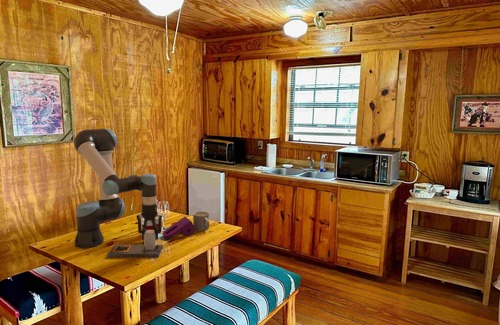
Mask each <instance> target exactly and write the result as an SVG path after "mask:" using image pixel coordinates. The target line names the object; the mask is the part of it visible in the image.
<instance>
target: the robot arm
mask: <svg viewBox="0 0 500 325" xmlns="http://www.w3.org/2000/svg"><path fill="white" fill-rule="evenodd" d="M117 144H118V138H117V135H116V133H115V132H114V131H113V130H112V129H110V128H93V129H92V128H91V129H82V130H80V131H79V132H78V133H77V134H76V135H75V137H74V140H73V145H74V146H73V147H74V149H75V151H76V152H77V154H78V155H79V156H81V157H83V158H84V160H85V161H86V162H87V163H88V165H89V166H90V167H91V168H92V171H93V172H94V173H95V174H96V175H97V176H98V184H99V185H98V186H99V192H100V196H99V197H98V200H97V201H96V200H90V201H85V202H82V203H80V204H78V205H77V206H76V210H75V215H76V217H75V218H76V228H77V229H76V230H77V231H76V235H75V239H74V247H76V248H78V247H79V248H80V249H89V248H94V247H98V246H100V245H101V246H102V244H103V243H104V242H105V240H104V235H103V233H102V230H101V223H105V222H108V221H111V220H116V219H119V218H121V217H122V216H123V214H125V209H126V207H125V202H124V200H123V199H122V198H120V195H119V194H123V193H128V192H133V191H140V192H141V213H140V214H139V213H138V214H136V216H135V217H136V220H137V234H141V240H142V241H143V245H144V246H145V230H146V226H147V221H152V224H153V228H154V232H155V233H154V246H156V245H157V241H158V240H159V234H161V233H162V229H163V228H162V223H163V222H162V219H163V214H160V213H158V208H157V207H158V206H157V205H158V204H157V203H158V202H157V201H158V200H157V198H158V197H157V183H158V182H157V176H156V175H155V174H154V173H143V174H141V175H136V174H130V175H128V176H127V177H120V178H119V176H118V174H116V173H115V171H114V164H113V156H112V154H113V153H114V151H115V148H116V147H117V146H118V145H117ZM142 218H143V219H144V220H143V221H144V225H142V224H141V222H142ZM155 218H156V219H159V220H158V229H157V225H156V221H155ZM156 240H157V241H156Z"/></svg>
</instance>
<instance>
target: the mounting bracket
mask: <svg viewBox="0 0 500 325" xmlns="http://www.w3.org/2000/svg"><path fill="white" fill-rule="evenodd" d="M180 233H182V235H184V236H185V237H189V236H190V237H191V236H193V235H194V233H195V227H194V225H193V220H191V219H189V218H188V217H186V216H184V217H181V218H180V219H178V220H177V221H176V222H175V223H173V224H172V225H170V226H168V228H166V229H165V230H163V232H162V237H163V238H164V239H165V238H166V239H165V240H168V239H169V240H170V239H172V238H174V237H175V236H176V235H178V234H180Z"/></svg>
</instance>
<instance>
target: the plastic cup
mask: <svg viewBox="0 0 500 325" xmlns="http://www.w3.org/2000/svg"><path fill="white" fill-rule="evenodd" d="M158 220H159V218H157V217H156V218H155V221H156V225H157V229H158ZM141 225H142V226H143V225H144V220H141ZM147 230H154V228H153V224H152V221H147V226H146V230H145V232H146V231H147ZM157 241H158V239H157V240H156V242H157Z"/></svg>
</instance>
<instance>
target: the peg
mask: <svg viewBox="0 0 500 325" xmlns="http://www.w3.org/2000/svg"><path fill="white" fill-rule="evenodd" d="M154 233H155V232H154V230H147V231H146V232H145V252H155V251H156V247H155V246H154Z"/></svg>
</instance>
